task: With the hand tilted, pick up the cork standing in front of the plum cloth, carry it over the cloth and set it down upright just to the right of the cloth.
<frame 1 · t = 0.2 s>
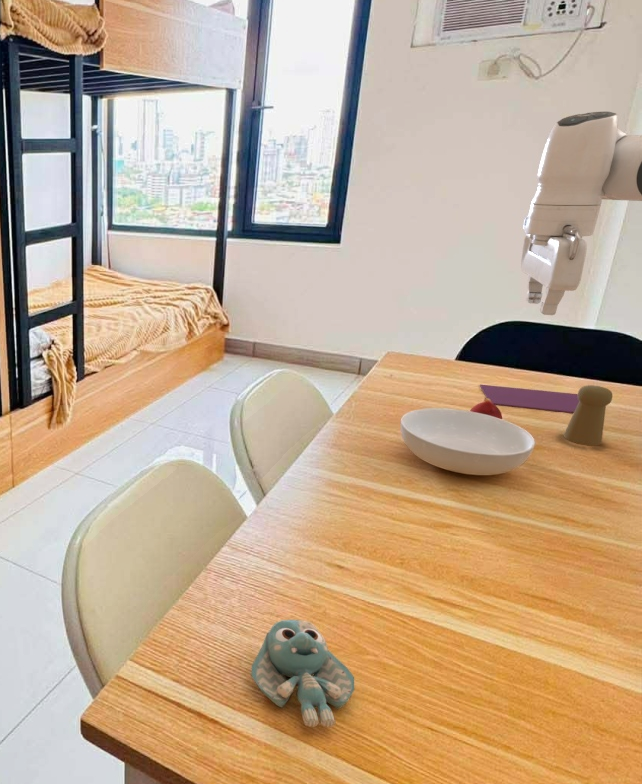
hand: (539, 308, 105), 29 cm above the table, tool pointing down, fingers open, 8 cm apart
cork: (581, 440, 125), on the table
stuffed animal: (299, 690, 67), on the table
plum cloth: (535, 399, 146), on the table
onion: (480, 436, 128), on the table
serving bowl: (457, 463, 116), on the table
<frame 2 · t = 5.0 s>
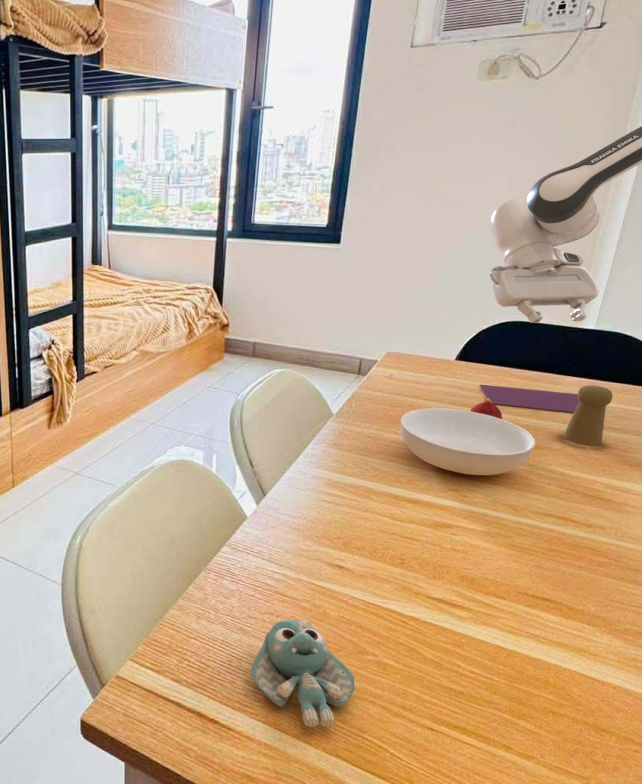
hand: (558, 320, 130), 21 cm above the table, tool tilted 45°, fingers open, 8 cm apart
nothing on the table moved.
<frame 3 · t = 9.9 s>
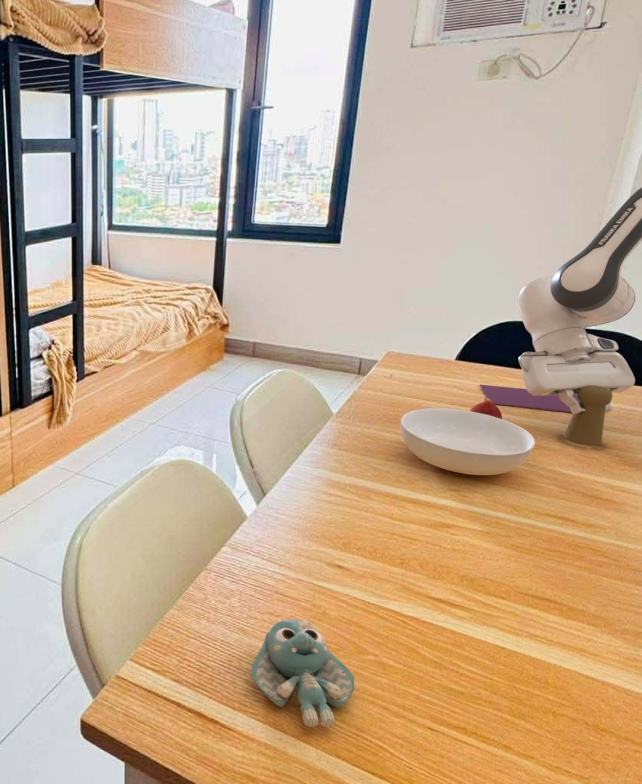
hand: (593, 412, 122), 6 cm above the table, tool tilted 45°, fingers closed on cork, 4 cm apart
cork: (581, 440, 125), on the table, touching gripper
everything else where it was.
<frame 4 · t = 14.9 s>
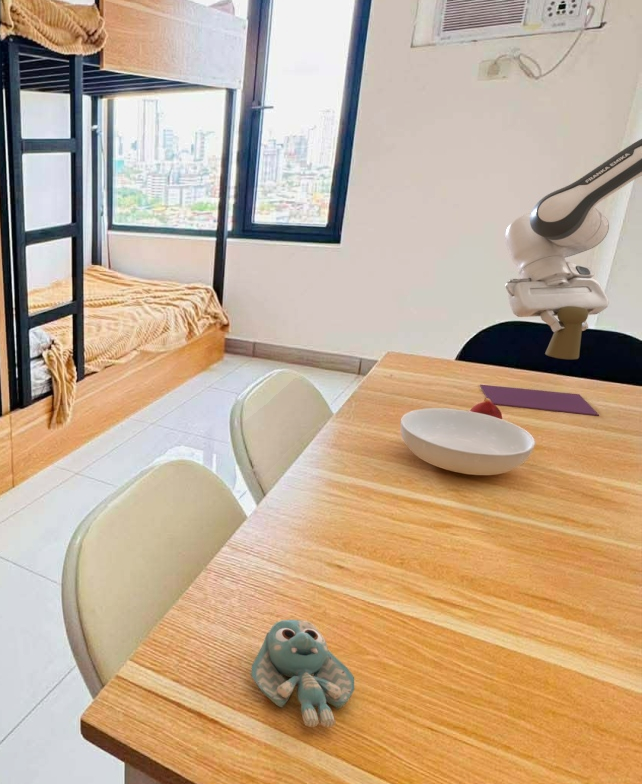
hand: (571, 330, 137), 17 cm above the table, tool tilted 45°, fingers closed on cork, 4 cm apart
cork: (561, 356, 140), point 11 cm above the table, touching gripper
everything else where it was.
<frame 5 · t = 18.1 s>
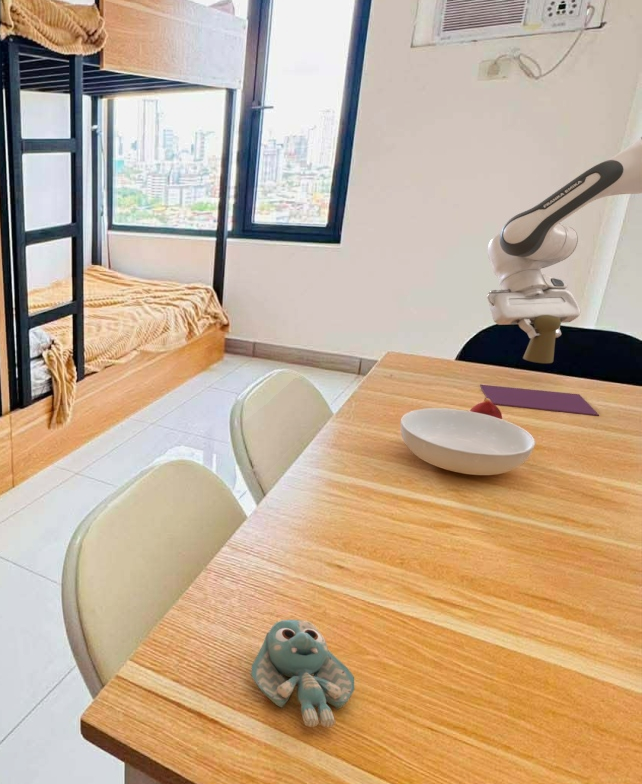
hand: (546, 336, 152), 12 cm above the table, tool tilted 45°, fingers closed on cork, 4 cm apart
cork: (537, 360, 154), point 6 cm above the table, touching gripper
everything else where it was.
when the fingers open (6 cm above the table, at t = 20.2 s): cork stays where it is, on the table.
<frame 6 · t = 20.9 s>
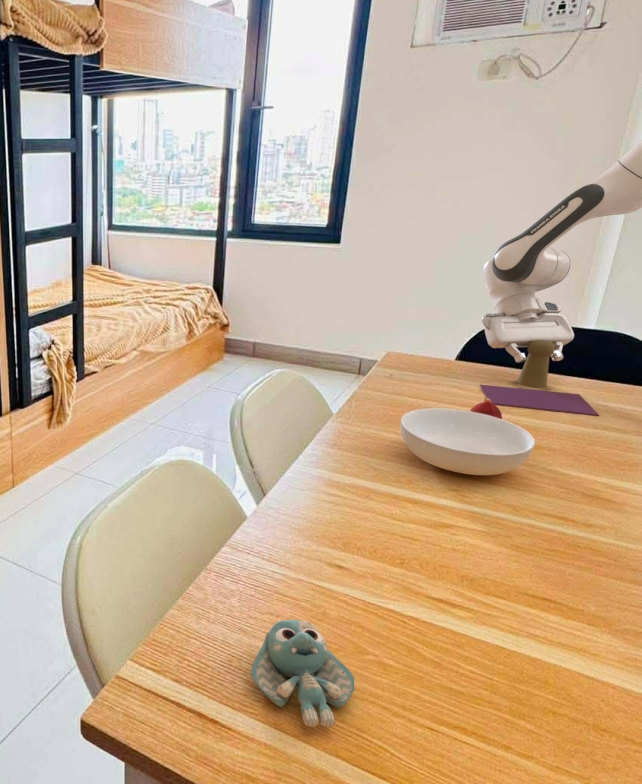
hand: (540, 360, 154), 6 cm above the table, tool tilted 45°, fingers open, 8 cm apart
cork: (531, 384, 157), on the table
everything else where it was.
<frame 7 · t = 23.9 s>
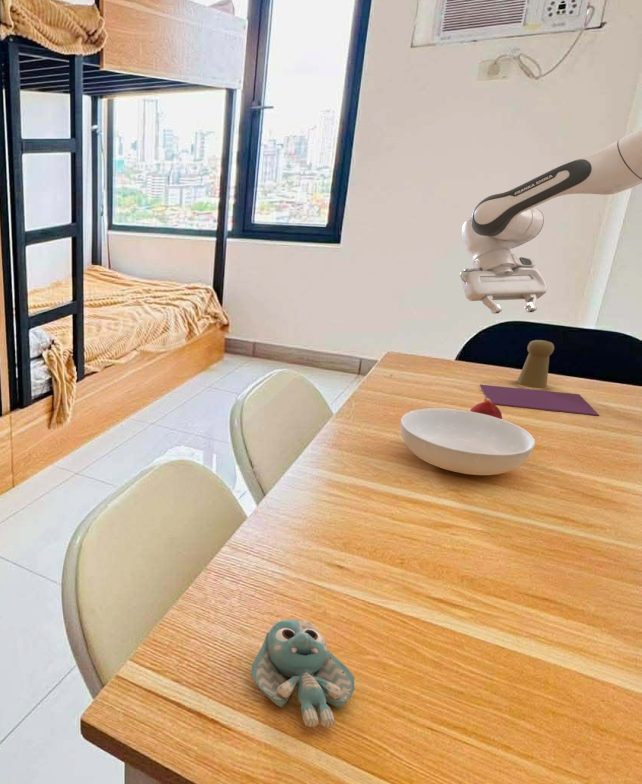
hand: (514, 311, 162), 16 cm above the table, tool tilted 45°, fingers open, 8 cm apart
nothing on the table moved.
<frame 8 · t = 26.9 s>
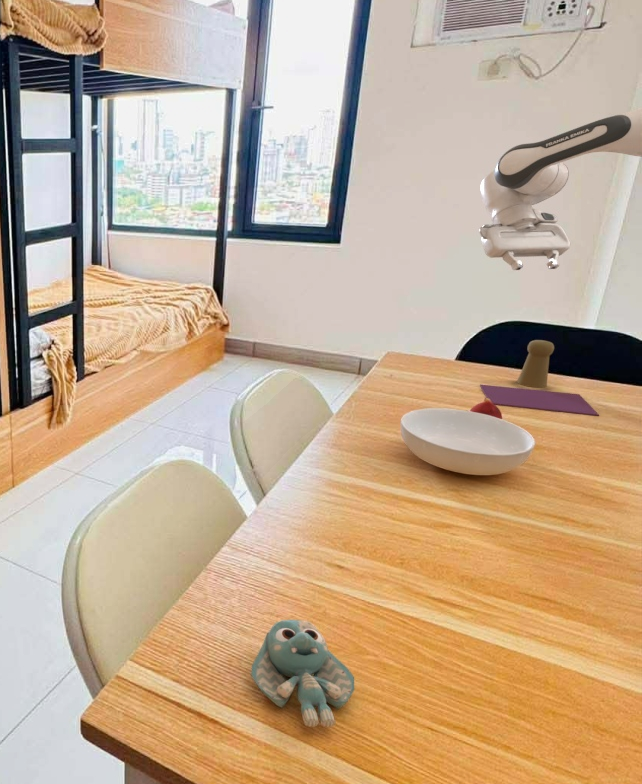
hand: (536, 268, 155), 27 cm above the table, tool tilted 45°, fingers open, 8 cm apart
nothing on the table moved.
at the end: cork inside the target area on the table beside the plum cloth (2.0 cm from its centre), on the table; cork touching table; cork tilted 0° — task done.
